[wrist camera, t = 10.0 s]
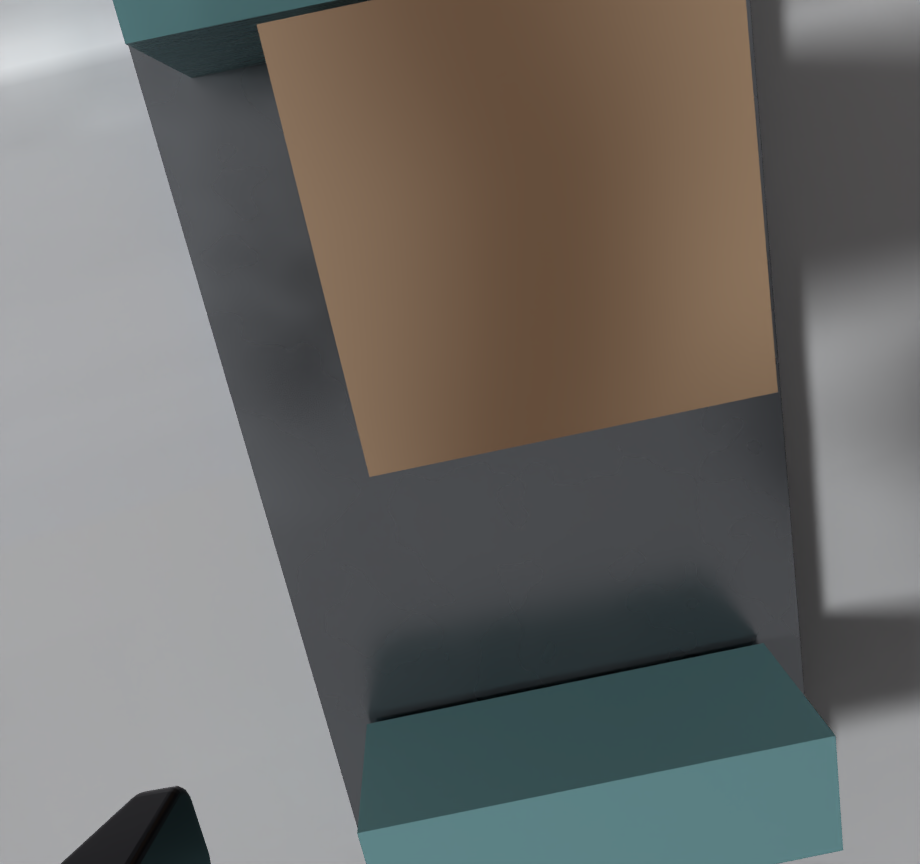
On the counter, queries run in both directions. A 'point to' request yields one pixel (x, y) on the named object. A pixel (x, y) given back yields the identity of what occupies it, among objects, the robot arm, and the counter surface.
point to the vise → (455, 481)
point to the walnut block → (528, 213)
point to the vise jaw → (610, 772)
